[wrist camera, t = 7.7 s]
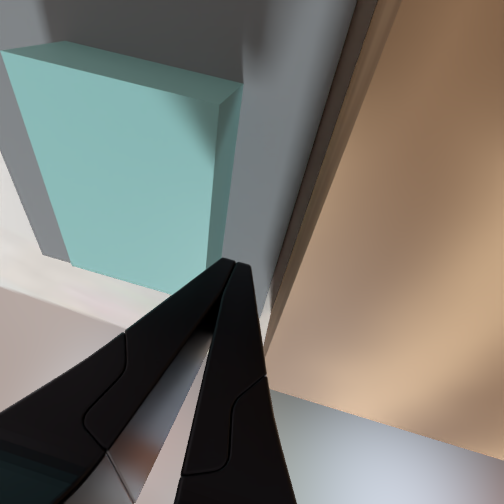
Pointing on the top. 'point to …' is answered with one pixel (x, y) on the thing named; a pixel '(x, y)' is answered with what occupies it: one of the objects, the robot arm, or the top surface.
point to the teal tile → (130, 158)
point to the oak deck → (407, 235)
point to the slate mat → (210, 63)
